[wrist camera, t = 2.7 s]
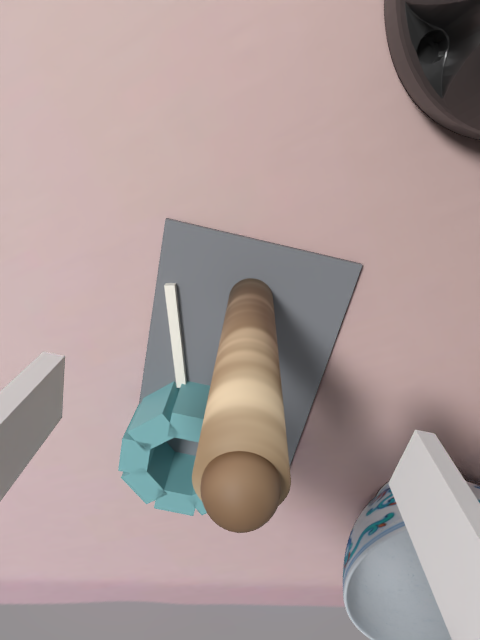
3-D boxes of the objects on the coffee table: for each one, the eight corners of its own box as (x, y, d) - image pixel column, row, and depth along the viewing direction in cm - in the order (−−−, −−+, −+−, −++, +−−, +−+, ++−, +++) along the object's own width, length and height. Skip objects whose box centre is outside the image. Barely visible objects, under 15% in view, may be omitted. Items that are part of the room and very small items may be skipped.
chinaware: (332, 565, 37) (349, 662, 30) (319, 442, 31) (336, 525, 24) (496, 554, 36) (556, 653, 29) (514, 422, 30) (594, 505, 23)
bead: (143, 371, 29) (127, 403, 25) (260, 396, 29) (260, 431, 26) (130, 461, 33) (114, 500, 29) (235, 482, 33) (231, 523, 29)
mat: (166, 218, 25) (165, 219, 25) (360, 263, 26) (362, 265, 25) (132, 453, 33) (131, 456, 32) (281, 483, 33) (281, 487, 33)
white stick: (165, 283, 26) (163, 285, 26) (176, 283, 26) (174, 285, 26) (178, 384, 29) (176, 387, 29) (187, 384, 29) (186, 387, 29)
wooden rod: (234, 273, 26) (194, 469, 10) (277, 283, 26) (308, 493, 10) (224, 314, 27) (175, 547, 11) (266, 323, 27) (278, 568, 11)
